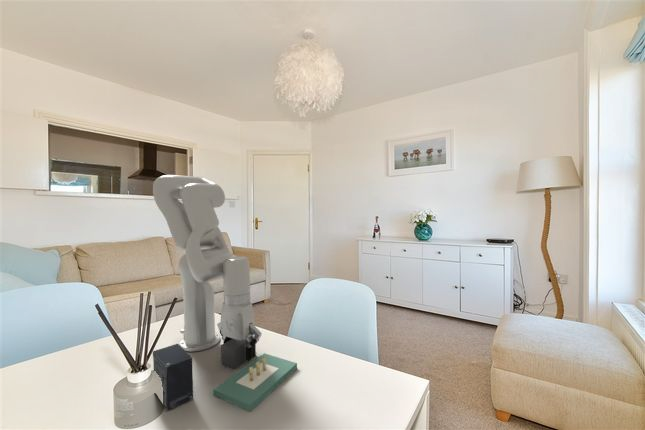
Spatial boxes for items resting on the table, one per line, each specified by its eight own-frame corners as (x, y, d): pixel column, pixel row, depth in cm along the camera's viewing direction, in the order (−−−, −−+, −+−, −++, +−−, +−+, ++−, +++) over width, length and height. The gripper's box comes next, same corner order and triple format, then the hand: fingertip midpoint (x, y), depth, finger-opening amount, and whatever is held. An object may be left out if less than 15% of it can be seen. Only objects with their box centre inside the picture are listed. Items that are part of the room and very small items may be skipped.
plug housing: (221, 365, 83) (220, 345, 83) (243, 351, 91) (243, 332, 91) (234, 370, 81) (233, 349, 80) (255, 355, 89) (255, 336, 88)
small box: (195, 398, 69) (194, 356, 69) (166, 412, 65) (164, 367, 64) (180, 380, 77) (178, 341, 76) (152, 391, 72) (151, 351, 72)
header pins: (248, 380, 73) (248, 367, 73) (264, 368, 78) (263, 356, 78) (251, 381, 73) (251, 368, 73) (266, 369, 78) (266, 357, 78)
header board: (213, 395, 70) (213, 388, 70) (264, 357, 87) (264, 352, 87) (250, 411, 65) (249, 404, 64) (297, 368, 81) (296, 362, 81)
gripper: (207, 298, 86) (209, 354, 87) (250, 306, 78) (252, 369, 78) (226, 291, 93) (228, 343, 93) (268, 298, 84) (270, 356, 85)
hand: (239, 354), depth 86 cm, fingers open, 8 cm apart
